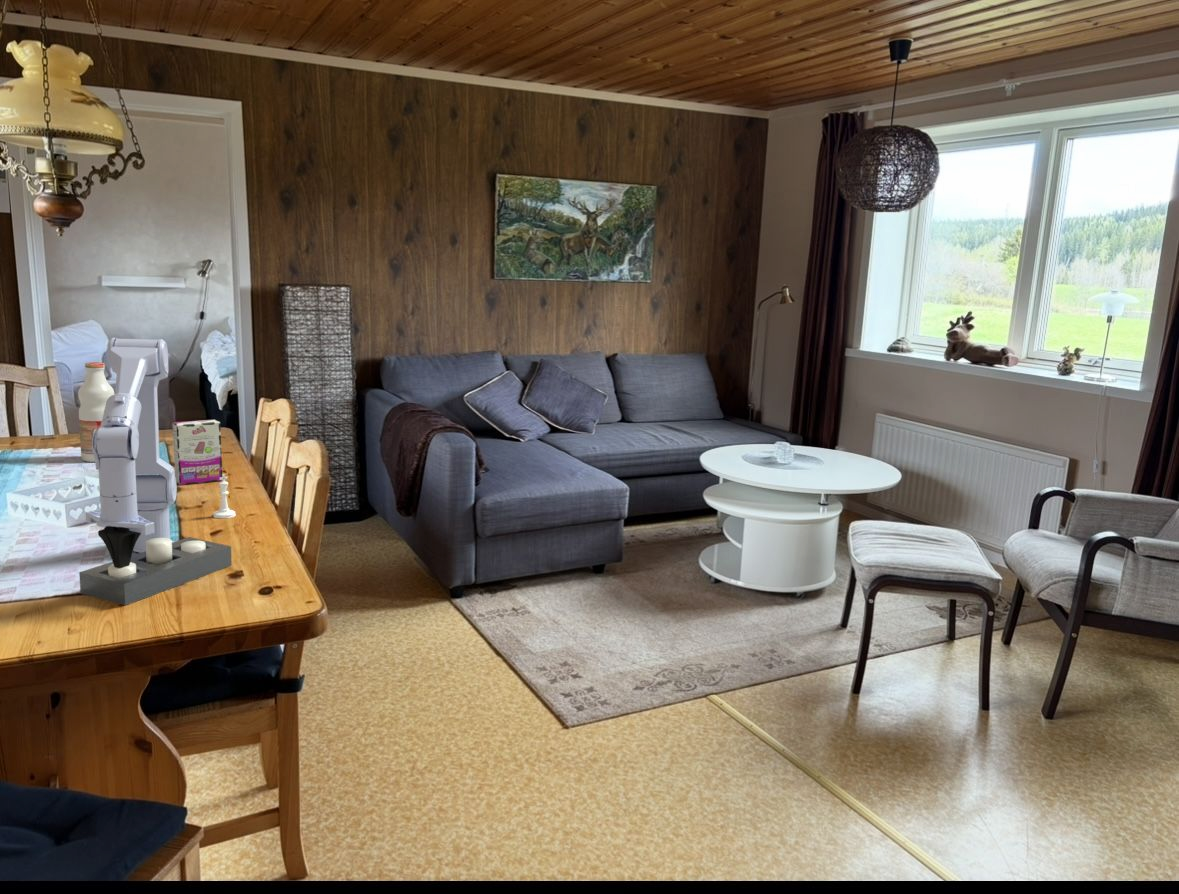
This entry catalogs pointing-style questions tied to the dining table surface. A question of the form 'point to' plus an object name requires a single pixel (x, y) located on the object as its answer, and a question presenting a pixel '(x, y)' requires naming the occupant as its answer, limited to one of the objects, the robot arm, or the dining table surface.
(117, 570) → the knob
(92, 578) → the knob mount
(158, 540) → the knob middle
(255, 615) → the dining table surface
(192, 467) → the candy bar box
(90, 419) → the fruit juice
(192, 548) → the knob
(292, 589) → the dining table surface
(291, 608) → the dining table surface
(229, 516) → the chess piece
